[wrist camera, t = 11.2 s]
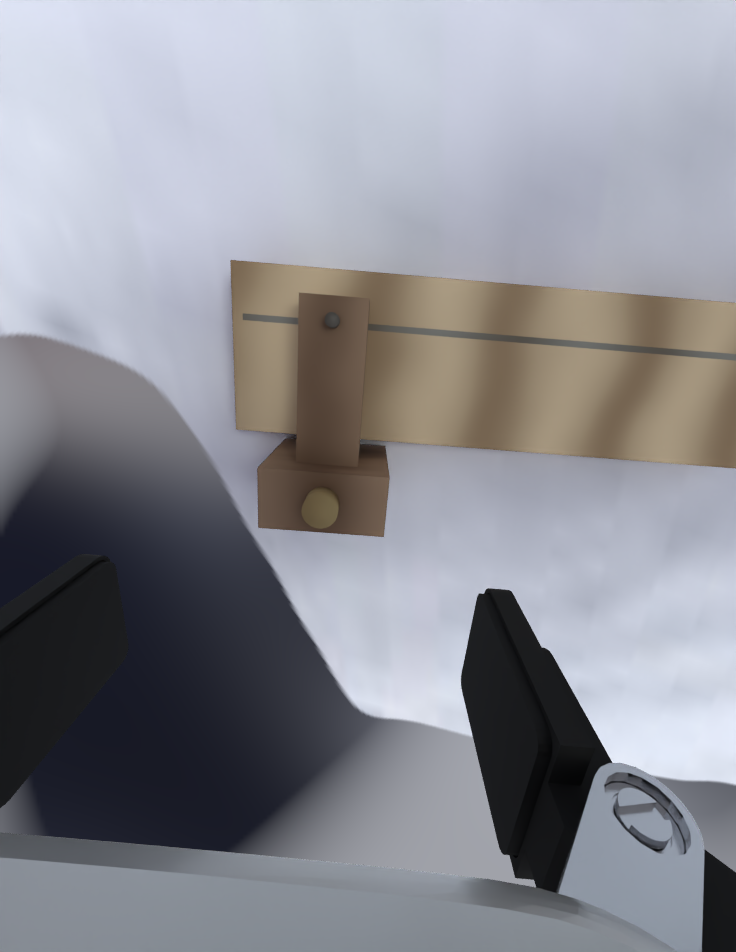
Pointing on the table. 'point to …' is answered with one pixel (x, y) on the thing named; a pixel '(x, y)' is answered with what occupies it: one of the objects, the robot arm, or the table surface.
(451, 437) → the board
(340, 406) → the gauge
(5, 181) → the table surface
